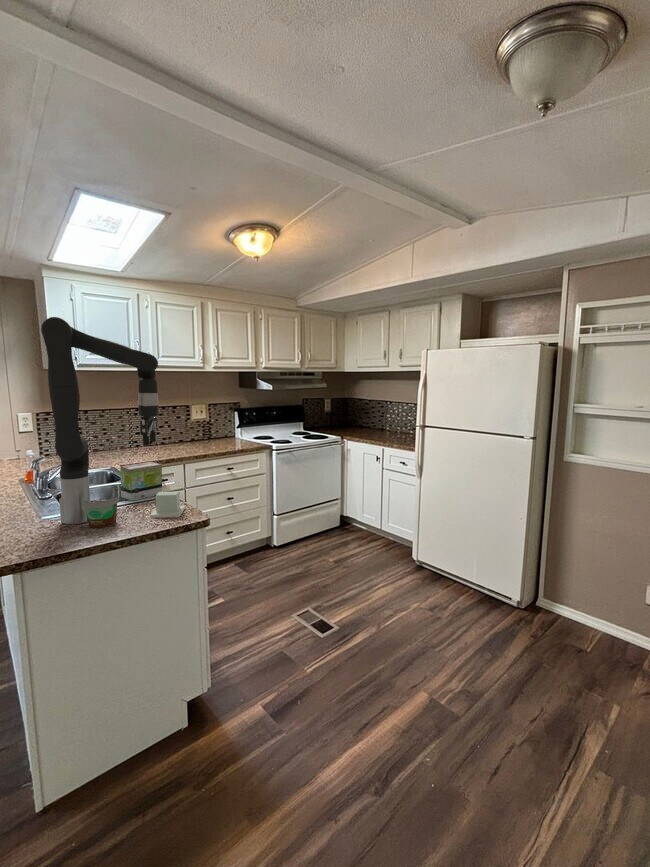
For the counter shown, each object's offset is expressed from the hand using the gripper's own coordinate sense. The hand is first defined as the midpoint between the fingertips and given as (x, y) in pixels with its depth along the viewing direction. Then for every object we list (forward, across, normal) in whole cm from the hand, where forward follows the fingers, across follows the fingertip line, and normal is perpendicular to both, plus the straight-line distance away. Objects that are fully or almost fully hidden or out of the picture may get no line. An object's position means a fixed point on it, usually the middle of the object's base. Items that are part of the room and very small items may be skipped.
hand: (149, 443), depth 168 cm
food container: (+28, +19, -12) cm, 36 cm away
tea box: (+28, -20, -10) cm, 36 cm away
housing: (+26, +6, +8) cm, 28 cm away
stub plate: (+28, +6, +8) cm, 29 cm away
